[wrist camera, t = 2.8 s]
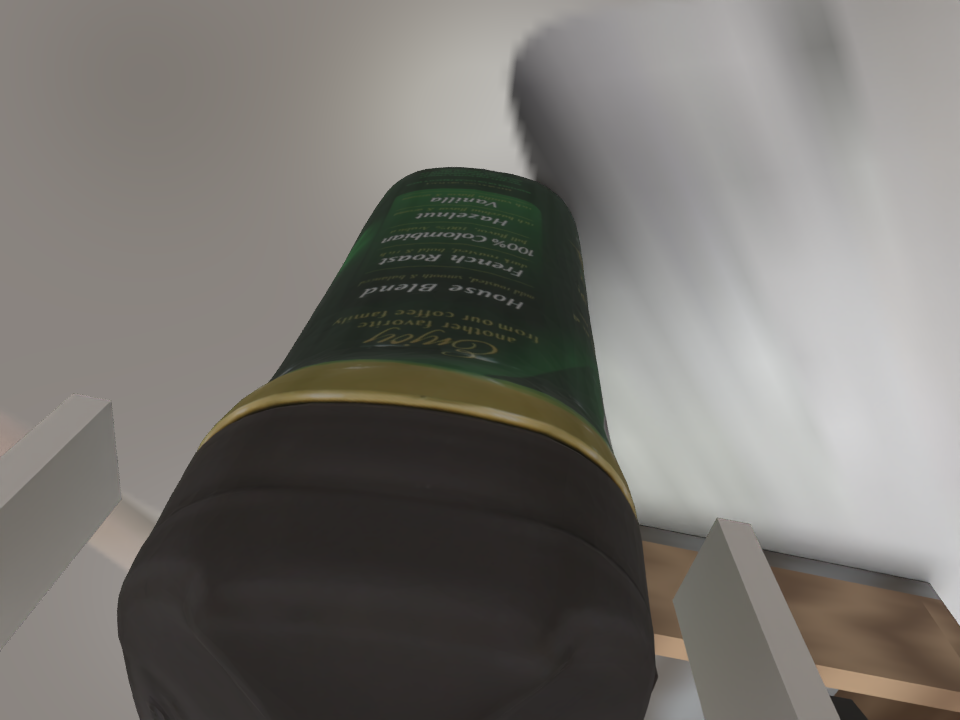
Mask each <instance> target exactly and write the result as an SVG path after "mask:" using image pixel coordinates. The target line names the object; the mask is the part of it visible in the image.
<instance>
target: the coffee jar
mask: <svg viewBox="0 0 960 720" xmlns="http://www.w3.org/2000/svg"><path fill="white" fill-rule="evenodd" d="M117 622H118V637H119V640H120V643H121V646H122V649H123V655H124V660H125V664H126V669H127V674H128V679H129V683H130V687H131V690H132V694H133V699H134V702H135V705H136V709H137V712H138V715H139V718H140V720H644V717H645V714H646V711H647V708H648V705H649V701H650V697H651V693H652V691H653V689H654V687H655V684H656V682H657V679H658V673H657V668H656V661H655V643H654V632H653V625H652V619H651V612H650V605H649V596H648V588H647V580H646V571H645V563H644V554H643V545H642V538H641V533H640V528H639V523H638V520H637V515H636V511H635V506H634V503H633V500H632V497H631V494H630V490H629V487H628V484H627V482H626V480H625V478H624V476H623V473H622V471H621V469H620V467H619V465H618V463H617V460H616V458H615V456H614V453H613V449H612V445H611V441H610V436H609V432H608V427H607V421H606V416H605V411H604V405H603V398H602V392H601V386H600V380H599V373H598V367H597V361H596V355H595V348H594V341H593V335H592V330H591V324H590V316H589V310H588V302H587V293H586V286H585V278H584V270H583V261H582V254H581V248H580V242H579V237H578V232H577V228H576V225H575V221H574V219H573V217H572V215H571V212H570V211H569V209H568V207H567V206H566V205H565V203H564V202H563V200H562V199H561V198H559V197H558V196H557V195H556V194H555V193H554V192H552V191H551V190H550V189H548V188H547V187H546V186H544V185H542V184H540V183H538V182H536V181H533V180H530V179H527V178H524V177H520V176H517V175H513V174H508V173H502V172H495V171H490V170H485V169H476V168H475V169H474V168H464V167H445V168H432V169H425V170H421V171H417V172H415V173H413V174H410V175H408V176H406V177H404V178H403V179H401V180H400V181H398V182H397V183H396V184H395V185H393V186H392V187H391V189H389V190H388V191H387V193H386V194H385V195H384V197H383V198H382V200H381V201H380V202H379V204H378V205H377V207H376V208H375V210H374V211H373V213H372V215H371V216H370V218H369V219H368V221H367V223H366V224H365V226H364V228H363V229H362V231H361V233H360V235H359V237H358V238H357V240H356V242H355V244H354V246H353V247H352V249H351V251H350V253H349V255H348V257H347V259H346V261H345V262H344V264H343V266H342V267H341V269H340V271H339V272H338V274H337V276H336V277H335V279H334V281H333V282H332V284H331V286H330V287H329V289H328V291H327V292H326V294H325V296H324V297H323V299H322V300H321V302H320V303H319V305H318V307H317V308H316V310H315V311H314V313H313V315H312V316H311V318H310V320H309V321H308V323H307V325H306V326H305V328H304V330H303V331H302V333H301V335H300V336H299V338H298V339H297V341H296V342H295V344H294V346H293V347H292V349H291V350H290V352H289V353H288V355H287V357H286V358H285V360H284V361H283V363H282V365H281V366H280V368H279V369H278V370H277V372H276V373H275V374H274V376H273V377H272V379H271V380H270V381H269V382H268V383H267V384H265V385H263V386H261V387H260V388H258V389H257V390H255V391H254V392H252V393H251V394H249V395H248V396H246V397H245V398H243V399H242V400H241V401H240V402H239V403H238V404H237V405H235V406H234V407H233V408H232V409H231V410H230V411H229V412H228V413H227V414H226V415H225V416H224V417H223V418H222V419H221V420H220V421H219V422H218V423H217V424H216V425H215V426H214V427H213V428H212V429H211V431H210V432H209V433H208V434H207V435H206V437H205V438H204V439H203V441H202V442H201V444H200V446H199V448H198V450H197V452H196V453H195V455H194V457H193V458H192V460H191V462H190V464H189V465H188V467H187V469H186V470H185V472H184V474H183V476H182V478H181V480H180V481H179V483H178V485H177V487H176V488H175V490H174V492H173V493H172V495H171V497H170V499H169V501H168V502H167V504H166V506H165V508H164V510H163V512H162V514H161V516H160V518H159V519H158V521H157V523H156V525H155V527H154V529H153V530H152V532H151V534H150V535H149V537H148V538H147V540H146V541H145V543H144V544H143V546H142V547H141V549H140V551H139V553H138V554H137V556H136V558H135V560H134V562H133V564H132V566H131V568H130V570H129V572H128V574H127V576H126V578H125V580H124V582H123V585H122V588H121V591H120V594H119V598H118V608H117Z"/></svg>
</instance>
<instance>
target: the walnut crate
mask: <svg viewBox="0 0 960 720" xmlns="http://www.w3.org/2000/svg"><path fill="white" fill-rule="evenodd" d="M639 528H640V533H641V538H642V545H643V554H644V563H645V571H646V580H647V588H648V596H649V605H650V612H651V619H652V625H653V632H654V643H655V661H656V668H657V673H658V679H657V682H656V684H655V687H654V689H653V691H652V693H651V697H650V701H649V705H648V708H647V711H646V714H645V717H644V720H705V719H704V715H703V711H702V708H701V704H700V700H699V696H698V693H697V689H696V685H695V682H694V678H693V674H692V671H691V667H690V663H689V659H688V656H687V652H686V648H685V645H684V641H683V637H682V634H681V630H680V626H679V623H678V619H677V615H676V611H675V608H674V604H673V598H674V597H675V595H676V593H677V591H678V589H679V587H680V585H681V584H682V582H683V580H684V578H685V576H686V574H687V573H688V571H689V569H690V567H691V565H692V563H693V561H694V560H695V558H696V556H697V554H698V552H699V550H700V549H701V547H702V545H703V543H704V541H705V539H706V538H701V537H696V536H691V535H686V534H681V533H676V532H671V531H666V530H661V529H656V528H651V527H646V526H641V525H639ZM762 551H763V553H764V555H765V557H766V559H767V561H768V564H769V566H770V568H771V570H772V572H773V574H774V577H775V579H776V581H777V583H778V585H779V587H780V590H781V592H782V594H783V596H784V598H785V600H786V603H787V605H788V607H789V609H790V611H791V613H792V616H793V618H794V620H795V622H796V624H797V626H798V629H799V631H800V633H801V635H802V637H803V639H804V642H805V644H806V646H807V648H808V650H809V652H810V655H811V657H812V659H813V661H814V663H815V665H816V668H817V670H818V672H819V674H820V676H821V678H822V681H823V683H824V685H825V687H826V689H827V691H828V694H829V695H830V696H836V697H841V698H847V699H852V700H853V702H854V703H855V704H856V705H857V707H858V708H859V709H860V710H861V711H862V713H863V714H864V715H865V716H866V717H867V719H868V720H960V626H959V624H958V623H957V621H956V620H955V619H954V617H953V616H952V614H951V613H950V611H949V610H948V609H947V607H946V606H945V604H944V603H943V602H942V600H941V599H940V597H939V596H938V594H937V593H936V592H935V590H934V589H933V587H932V586H931V585H930V583H926V582H921V581H916V580H911V579H906V578H901V577H896V576H891V575H886V574H881V573H876V572H871V571H866V570H861V569H856V568H851V567H846V566H841V565H836V564H831V563H826V562H821V561H816V560H811V559H806V558H801V557H796V556H791V555H786V554H781V553H776V552H771V551H766V550H762Z"/></svg>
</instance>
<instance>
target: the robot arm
mask: <svg viewBox="0 0 960 720" xmlns="http://www.w3.org/2000/svg"><path fill="white" fill-rule="evenodd" d="M121 499H122V498H121V489H120V479H119V470H118V460H117V451H116V441H115V432H114V422H113V413H112V403H111V400H106V399H101V398H96V397H91V396H85V395H80V394H75V393H73V394H72V395H71V396H70V397H69V398H67V399H66V400H65V401H64V402H63V403H62V404H61V405H60V406H58V407H57V408H56V409H55V410H54V411H53V412H51V413H50V414H49V415H48V416H47V417H46V418H45V419H43V420H42V421H41V422H40V423H39V424H38V425H37V426H36V427H34V428H33V429H32V430H31V431H30V432H29V433H28V434H26V435H25V436H24V437H23V438H22V439H21V440H20V441H18V442H17V443H16V444H15V445H14V446H13V447H12V448H10V449H9V450H8V451H7V452H6V453H5V454H4V455H2V456H1V457H0V651H1V650H2V648H3V647H4V646H5V645H6V643H7V642H8V641H9V639H10V638H11V637H12V636H13V635H14V633H15V632H16V630H18V628H19V627H20V626H21V625H22V623H23V622H24V621H25V620H26V618H27V617H28V616H29V614H30V613H31V612H32V611H33V610H34V608H35V607H36V606H37V604H38V603H39V602H40V601H41V599H42V598H43V597H44V596H45V594H46V593H47V592H48V591H49V589H50V588H51V587H52V586H53V584H54V583H55V582H56V581H57V579H58V578H59V577H60V576H61V574H62V573H63V572H64V571H65V569H66V568H67V567H68V566H69V564H70V563H71V562H72V560H73V559H74V558H75V557H76V555H77V554H78V553H79V552H80V550H81V549H82V548H83V547H84V546H85V544H86V543H87V542H88V540H89V539H90V538H91V537H92V535H93V534H94V533H95V532H96V530H97V529H98V528H99V527H100V525H101V524H102V523H103V522H104V520H105V519H106V518H107V517H108V515H109V514H110V513H111V512H112V510H113V509H114V508H115V507H116V505H117V504H118V503H119V502H120V500H121ZM673 604H674V608H675V611H676V615H677V619H678V623H679V626H680V630H681V634H682V637H683V641H684V645H685V648H686V652H687V656H688V659H689V663H690V667H691V671H692V674H693V678H694V682H695V685H696V689H697V693H698V696H699V700H700V704H701V708H702V711H703V715H704V719H705V720H868V719H867V717H866V716H865V715H864V714H863V713H862V711H861V710H860V709H859V708H858V707H857V705H856V704H855V703H854V702H853V700H852V699H847V698H841V697H836V696H830V695H829V694H828V691H827V689H826V687H825V685H824V683H823V681H822V678H821V676H820V674H819V672H818V670H817V668H816V665H815V663H814V661H813V659H812V657H811V655H810V652H809V650H808V648H807V646H806V644H805V642H804V639H803V637H802V635H801V633H800V631H799V629H798V626H797V624H796V622H795V620H794V618H793V616H792V613H791V611H790V609H789V607H788V605H787V603H786V600H785V598H784V596H783V594H782V592H781V590H780V587H779V585H778V583H777V581H776V579H775V577H774V574H773V572H772V570H771V568H770V566H769V564H768V561H767V559H766V557H765V555H764V553H763V551H762V548H761V546H760V544H759V542H758V540H757V538H756V535H755V533H754V531H753V529H752V527H751V524H747V523H742V522H737V521H732V520H727V519H721V518H717V519H716V521H715V523H714V525H713V526H712V528H711V530H710V532H709V534H708V536H707V537H706V539H705V541H704V543H703V545H702V547H701V549H700V550H699V552H698V554H697V556H696V558H695V560H694V561H693V563H692V565H691V567H690V569H689V571H688V573H687V574H686V576H685V578H684V580H683V582H682V584H681V585H680V587H679V589H678V591H677V593H676V595H675V597H674V598H673Z"/></svg>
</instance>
